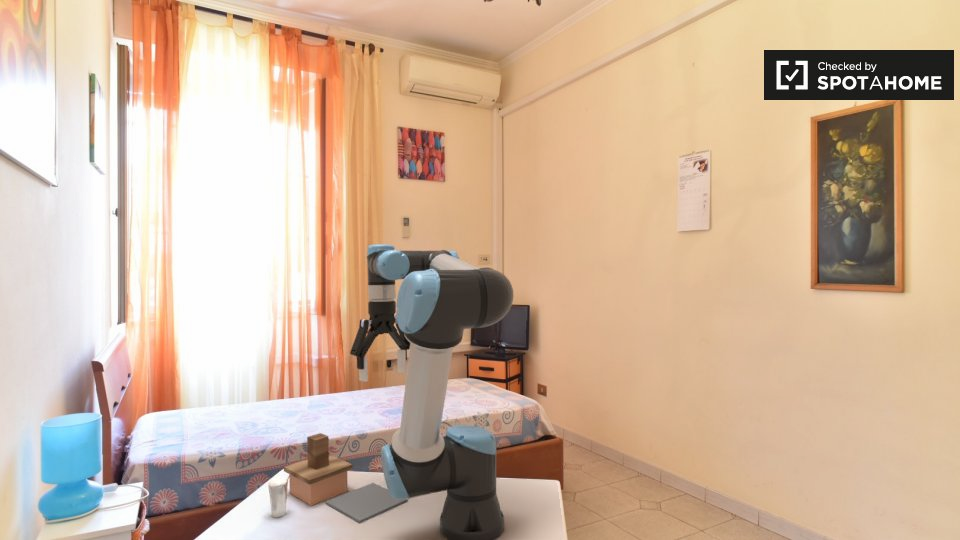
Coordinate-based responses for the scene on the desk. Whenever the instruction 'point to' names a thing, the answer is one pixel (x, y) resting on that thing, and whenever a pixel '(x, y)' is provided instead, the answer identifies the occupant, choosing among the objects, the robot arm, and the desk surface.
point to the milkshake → (278, 495)
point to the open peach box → (318, 488)
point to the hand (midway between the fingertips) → (383, 376)
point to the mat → (365, 502)
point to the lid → (317, 462)
